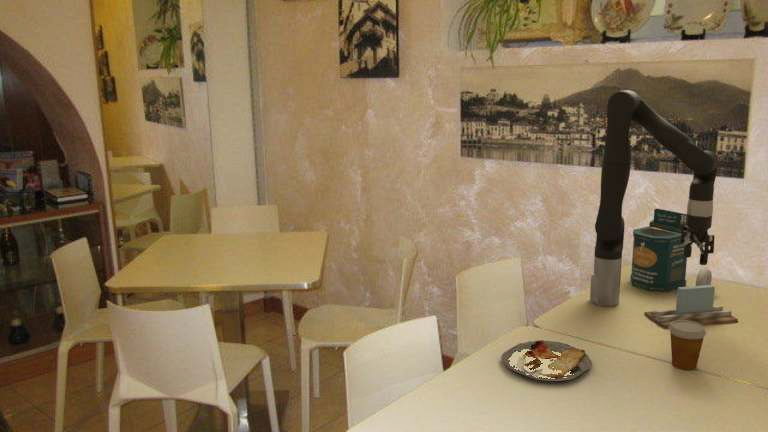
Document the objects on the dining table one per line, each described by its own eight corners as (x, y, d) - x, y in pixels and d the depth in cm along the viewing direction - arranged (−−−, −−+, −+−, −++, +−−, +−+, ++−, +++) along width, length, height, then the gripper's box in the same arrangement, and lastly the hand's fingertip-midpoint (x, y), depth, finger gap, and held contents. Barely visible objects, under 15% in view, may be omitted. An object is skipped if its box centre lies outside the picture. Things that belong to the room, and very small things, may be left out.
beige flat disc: (703, 299, 231) (705, 272, 228) (693, 297, 233) (695, 271, 231) (711, 291, 238) (714, 266, 236) (701, 289, 240) (704, 264, 238)
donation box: (685, 286, 245) (691, 215, 238) (658, 294, 237) (663, 221, 230) (649, 275, 258) (654, 207, 252) (622, 282, 250) (627, 213, 244)
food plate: (535, 339, 200) (535, 329, 199) (605, 362, 184) (605, 351, 183) (487, 368, 183) (487, 357, 182) (560, 396, 167) (560, 384, 166)
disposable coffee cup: (700, 360, 184) (704, 321, 181) (705, 375, 175) (708, 334, 172) (664, 356, 187) (667, 317, 184) (667, 370, 178) (670, 330, 175)
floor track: (664, 328, 206) (664, 321, 206) (644, 314, 218) (644, 307, 217) (737, 322, 210) (738, 315, 209) (714, 309, 221) (714, 302, 221)
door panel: (678, 317, 212) (681, 289, 210) (675, 315, 214) (677, 287, 212) (712, 315, 213) (714, 286, 211) (708, 312, 215) (711, 284, 213)
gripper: (675, 208, 212) (672, 255, 216) (702, 218, 198) (697, 268, 202) (696, 207, 213) (692, 254, 217) (724, 217, 199) (719, 266, 203)
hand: (695, 260), depth 209 cm, fingers open, 8 cm apart
